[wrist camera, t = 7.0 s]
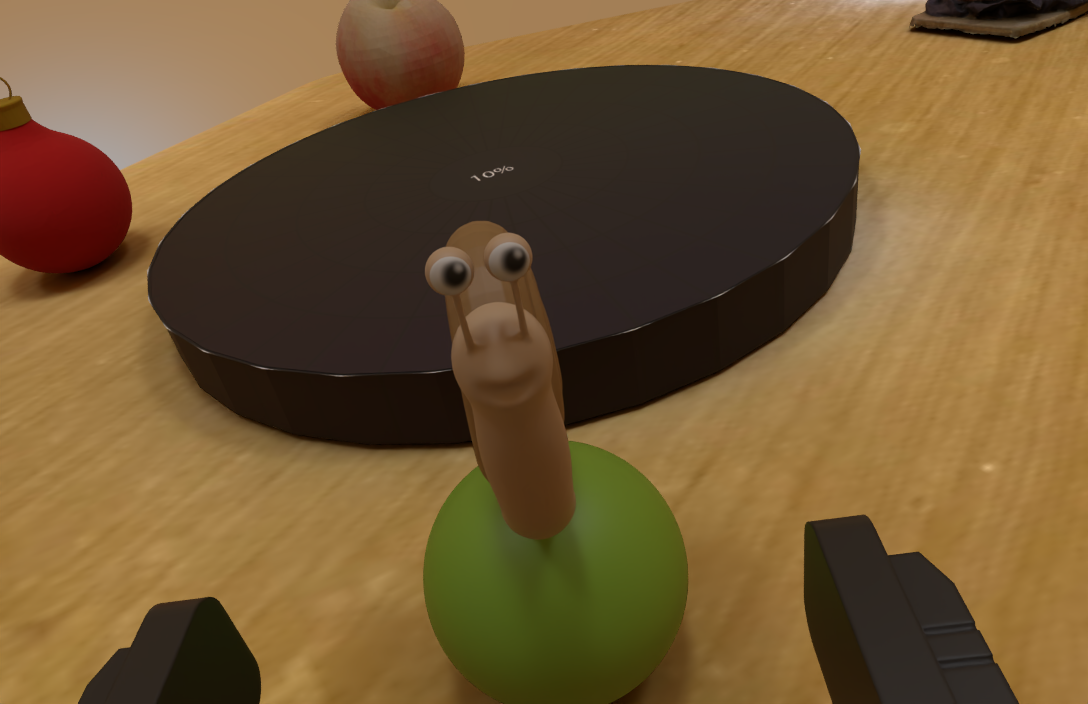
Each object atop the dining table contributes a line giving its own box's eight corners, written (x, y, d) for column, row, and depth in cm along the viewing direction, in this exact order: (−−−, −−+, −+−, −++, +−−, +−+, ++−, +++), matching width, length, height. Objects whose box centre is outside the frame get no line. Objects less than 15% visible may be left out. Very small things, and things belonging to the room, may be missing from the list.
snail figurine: (474, 855, 15) (221, 314, 8) (449, 589, 20) (281, 128, 14) (753, 777, 15) (723, 195, 9) (656, 535, 21) (590, 58, 14)
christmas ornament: (142, 221, 47) (54, 45, 41) (168, 258, 42) (71, 61, 36) (11, 270, 44) (-102, 87, 38) (21, 315, 39) (-107, 112, 33)
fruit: (380, 142, 51) (340, 10, 47) (346, 116, 57) (308, -3, 53) (492, 105, 53) (464, -24, 49) (448, 84, 60) (420, -32, 55)
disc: (579, 84, 54) (573, 38, 52) (1023, 193, 32) (1035, 118, 30) (125, 258, 43) (97, 206, 41) (317, 618, 20) (274, 535, 19)
